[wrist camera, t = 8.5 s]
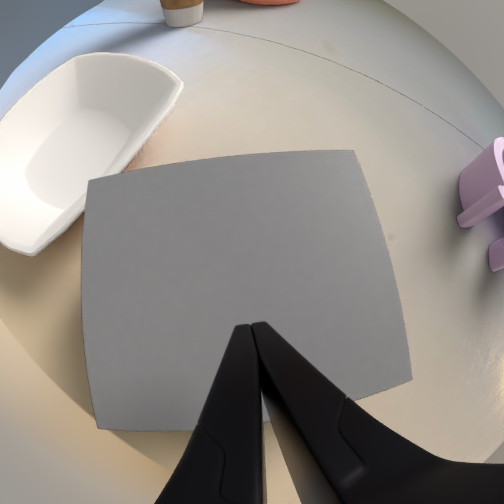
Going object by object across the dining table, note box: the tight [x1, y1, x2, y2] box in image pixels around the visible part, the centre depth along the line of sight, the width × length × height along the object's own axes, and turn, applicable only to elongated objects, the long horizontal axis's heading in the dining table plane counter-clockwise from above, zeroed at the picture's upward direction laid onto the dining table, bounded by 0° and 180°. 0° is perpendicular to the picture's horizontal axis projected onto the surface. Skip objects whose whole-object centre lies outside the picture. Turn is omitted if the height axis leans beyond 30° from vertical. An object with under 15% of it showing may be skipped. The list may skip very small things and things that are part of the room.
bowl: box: [0, 52, 184, 256], centre depth 21 cm, size 22×22×5 cm
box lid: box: [81, 150, 412, 431], centre depth 12 cm, size 12×15×1 cm
